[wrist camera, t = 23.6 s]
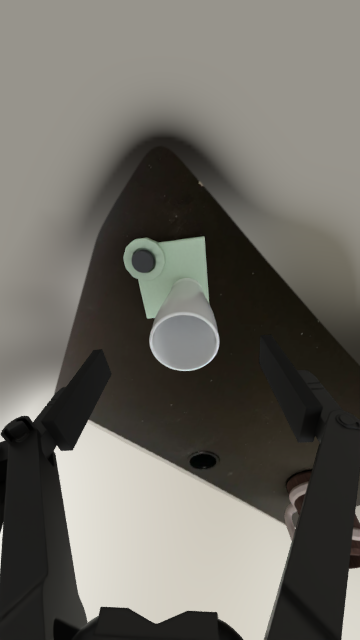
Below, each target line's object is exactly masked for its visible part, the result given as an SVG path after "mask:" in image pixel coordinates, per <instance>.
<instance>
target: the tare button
mask: <svg viewBox="0 0 360 640" xmlns="http://www.w3.org/2000/svg"><path fill="white" fill-rule="evenodd" d="M154 262H155V260H154V256H153V255H152V253H151V252H149V251H148V250H139V251H138V252H136V253H135V254H134V255H133V256H132V265H133V267H134V269H135V270H136V271H138V272H140V273H146V272H148V271H150V270H151V268H152V267H153V266H154Z"/></svg>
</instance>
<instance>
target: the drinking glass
mask: <svg viewBox="0 0 360 640" xmlns="http://www.w3.org/2000/svg"><path fill="white" fill-rule="evenodd" d="M149 343H150V348H151V351H152V353H153V355H154V356H155V357H156V359H157V360H158V361H159V362H161V363H162V364H163V365H165V366H167V367H169V368H171V369H175V370H180V371H191V370H196V369H199V368H201V367H203V366H205V365H207V364H208V363H209V362H210V361H211V360H212V359H213V358H214V357H215V355H216V353H217V351H218V348H219V335H218V329H217V324H216V320H215V317H214V314H213V311H212V309H211V307H210V305H209V303H208V301H207V299H206V297H205V294H204V292H203V288H202V286H201V285H200V283H199V282H198V281H196V280H194V279H192V278H182V279H179V280H178V281H176V282H175V283H174V284H173V286H172V288H171V290H170V292H169V294H168V295H167V297H166V299H165V300H164V302H163V303H162V305H161V307H160V308H159V310H158V312H157V314H156V317H155V320H154V322H153V326H152V329H151V333H150V338H149Z"/></svg>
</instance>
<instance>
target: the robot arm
mask: <svg viewBox="0 0 360 640" xmlns="http://www.w3.org/2000/svg"><path fill="white" fill-rule="evenodd" d="M259 364H260V366H261V368H262V370H263V372H264V374H265V376H266V378H267V380H268V382H269V384H270V386H271V388H272V390H273V392H274V394H275V396H276V398H277V400H278V402H279V404H280V406H281V408H282V410H283V413H284V415H285V417H286V419H287V421H288V423H289V425H290V427H291V429H292V431H293V433H294V435H295V437H296V439H297V441H298V442H313V441H314V437H315V436H316V437H317V439H318V441H319V442H320V444H319V447H318V450H317V453H316V458H315V461H314V465H313V469H312V472H311V476H310V479H309V483H308V486H307V490H306V493H305V497H304V500H303V504H302V508H301V511H300V515H299V518H298V522H297V525H296V529H295V532H294V536H293V539H292V543H291V547H290V550H289V554H288V557H287V561H286V564H285V568H284V571H283V575H282V579H281V582H280V585H279V589H278V593H277V596H276V600H275V603H274V606H273V610H272V613H271V617H270V620H269V623H268V627H267V631H266V634H265V638H264V640H341V636H342V625H343V617H344V607H345V598H346V589H347V580H348V571H349V562H350V553H351V544H352V535H353V526H354V517H355V507H356V499H357V490H358V481H359V472H360V420H359V419H358V418H357V417H355V416H354V415H352V414H350V413H349V412H346V411H343V410H342V409H341V407H340V406H339V405H338V404H337V402H336V401H335V400H334V399H333V398H332V396H331V395H330V394H329V393H328V391H327V390H326V389H325V388H324V387H323V385H322V384H320V382H319V380H318V379H317V378H316V377H315V376H314V375H313V374H311V373H310V372H309V371H307V370H301V371H297V370H296V369H295V367H294V366H293V364H292V363H291V362H290V360H289V359H288V358H287V356H286V355H285V353H284V352H283V351H282V349H281V348H280V346H279V345H278V344H277V342H276V341H275V340H274V338H273V337H272V335H261V341H260V356H259ZM110 376H111V371H110V369H109V366H108V364H107V361H106V358H105V356H104V353H103V350H102V349H101V350H93V352H92V353H91V354H90V356H89V357H88V358H87V360H86V361H85V362H84V364H83V365H82V366H81V368H80V369H79V370H78V372H77V373H76V375H75V376H74V377H73V379H72V380H71V381H70V383H69V384H68V385H67V387H63V388H61V389H60V390H59V391H58V392H57V393H56V394H55V395H54V396H53V397H52V399H51V401H49V403H48V404H47V406H45V408H44V409H43V410H42V412H41V413H40V414H39V415H38V417H37V418H36V419H35V420H34V422H32V421H31V419H30V418H29V417H28V416H21V417H19V418H16V419H14V420H13V421H11V422H10V423H9V424H7V425H6V426H5V428H4V429H3V430H2V432H1V436H2V437H3V438H4V439H5V440H6V441H3V442H0V532H1V529H2V525H3V538H2V554H1V569H0V640H243V639H242V637H241V636H240V635H239V634H238V633H237V632H236V631H235V630H234V629H233V628H231V627H230V626H229V625H228V624H227V623H225V622H223V621H221V620H220V619H218V614H217V612H199V611H186V612H184V613H182V614H179V615H177V616H175V617H172V618H170V619H168V620H165V621H163V622H161V623H158V624H155V623H153V622H151V621H149V620H147V619H146V618H144V617H142V616H141V615H139V614H137V613H135V612H133V611H132V610H130V609H129V608H115V607H101V608H100V613H99V616H97V617H96V618H94V619H93V620H91V621H90V622H88V623H87V618H86V614H85V610H84V607H83V605H82V603H81V600H80V598H79V595H78V590H77V585H76V579H75V573H74V566H73V560H72V555H71V548H70V543H69V536H68V529H67V523H66V518H65V511H64V505H63V499H62V492H61V486H60V480H59V474H58V468H57V462H56V455H55V453H54V449H55V447H56V446H58V447H59V449H60V450H61V451H67V450H73V448H74V446H75V444H76V443H77V441H78V438H79V437H80V435H81V433H82V431H83V429H84V427H85V425H86V423H87V421H88V419H89V417H90V415H91V413H92V411H93V409H94V407H95V405H96V403H97V401H98V399H99V397H100V396H101V394H102V392H103V390H104V388H105V386H106V384H107V382H108V380H109V378H110ZM3 522H4V523H3Z"/></svg>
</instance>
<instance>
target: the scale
mask: <svg viewBox="0 0 360 640" xmlns="http://www.w3.org/2000/svg"><path fill="white" fill-rule="evenodd" d="M139 250H148V251H149V252H151V253H152V255H153V256H154V260H155V262H154V266H153V267H152V268H151V270H150V271H148V272H146V273H140V272H138V271H136V270H135V269H134V267H133V265H132V256H133V255H134V254H135V253H136V252H138V251H139ZM123 259H124V263H125V267H126V269H127V270H128V272H129V273H130V274H131V275H132V276H133V277H134V278H137V279H138V281H139V286H140V290H141V294H142V299H143V303H144V308H145V312H146V316H147V319H148V318H155V317H156V314H157V312H158V310H159V308H160V307H161V305H162V303H163V302H164V300H165V299H166V297H167V295H168V294H169V292H170V290H171V288H172V286H173V284H174V283H175V282H176V281H178V280H179V279H182V278H192V279H194V280H196V281H198V282H199V283H200V285H201V286H202V288H203V292H204V294H205V297H206V299H207V301H208V303H209V295H208V280H207V266H206V252H205V237H204V236H201V237H194V238H187V239H179V240H172V241H165V242H156V241H154V240H152V239H150V238H140V239H135V240H133V241H132V242H131V243H130V244H129V245H128V246H127V247H126V249H125V253H124V256H123Z"/></svg>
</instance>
